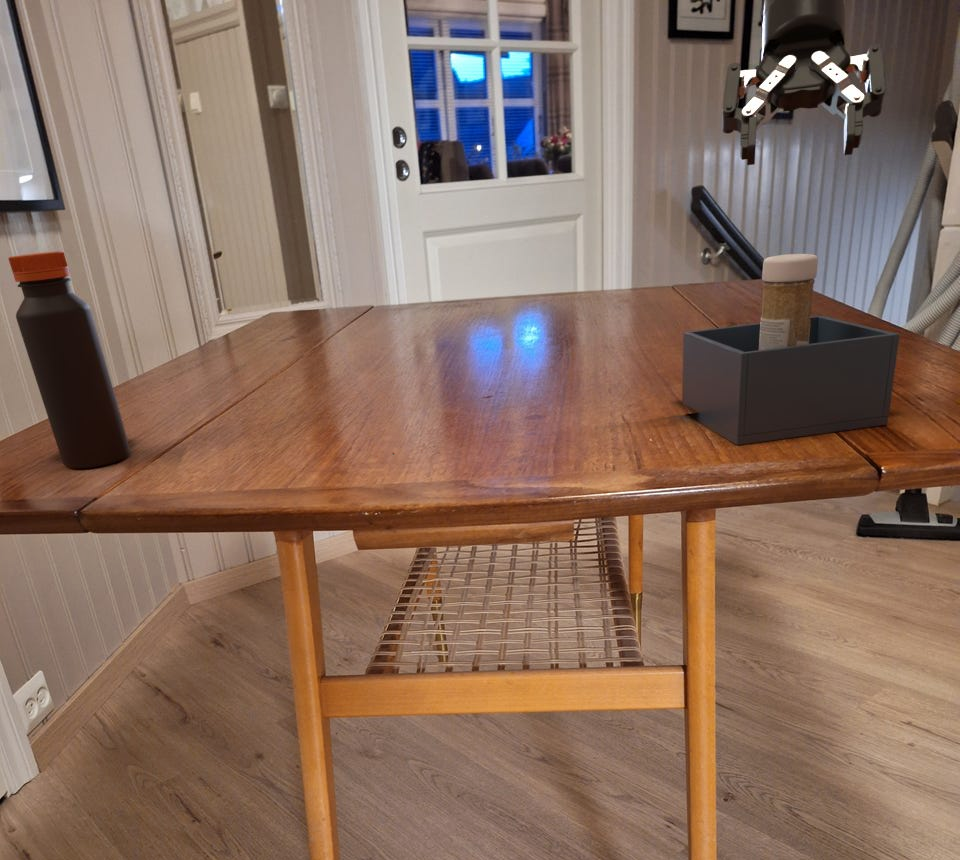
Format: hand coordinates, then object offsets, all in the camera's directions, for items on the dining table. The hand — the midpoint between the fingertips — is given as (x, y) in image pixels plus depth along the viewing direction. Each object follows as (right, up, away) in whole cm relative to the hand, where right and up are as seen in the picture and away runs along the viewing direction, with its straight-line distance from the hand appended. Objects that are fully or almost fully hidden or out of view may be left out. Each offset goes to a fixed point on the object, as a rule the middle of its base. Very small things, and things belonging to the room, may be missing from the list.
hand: (799, 153), depth 80 cm
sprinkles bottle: (-1, -23, +2) cm, 23 cm away
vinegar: (-70, -26, +12) cm, 75 cm away
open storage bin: (-1, -24, +3) cm, 24 cm away
